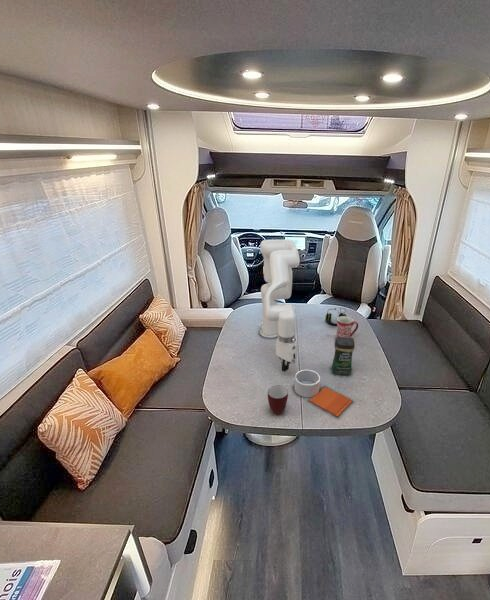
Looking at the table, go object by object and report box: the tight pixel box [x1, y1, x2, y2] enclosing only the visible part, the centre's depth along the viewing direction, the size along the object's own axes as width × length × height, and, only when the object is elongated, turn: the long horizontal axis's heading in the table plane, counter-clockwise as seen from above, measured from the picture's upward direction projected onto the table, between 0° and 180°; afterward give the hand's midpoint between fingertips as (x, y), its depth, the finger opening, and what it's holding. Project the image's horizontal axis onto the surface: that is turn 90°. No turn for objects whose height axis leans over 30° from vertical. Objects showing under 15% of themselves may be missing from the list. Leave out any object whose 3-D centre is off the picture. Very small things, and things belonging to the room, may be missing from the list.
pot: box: [294, 369, 321, 398], centre depth 140 cm, size 11×11×6 cm
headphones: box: [324, 307, 348, 328], centre depth 202 cm, size 16×10×20 cm
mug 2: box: [336, 315, 359, 338], centre depth 180 cm, size 13×9×14 cm
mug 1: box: [267, 384, 289, 416], centre depth 127 cm, size 11×8×10 cm
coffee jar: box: [331, 336, 356, 376], centre depth 151 cm, size 10×8×19 cm
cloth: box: [309, 386, 353, 418], centre depth 135 cm, size 14×12×1 cm
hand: (285, 370), depth 150 cm, fingers closed
